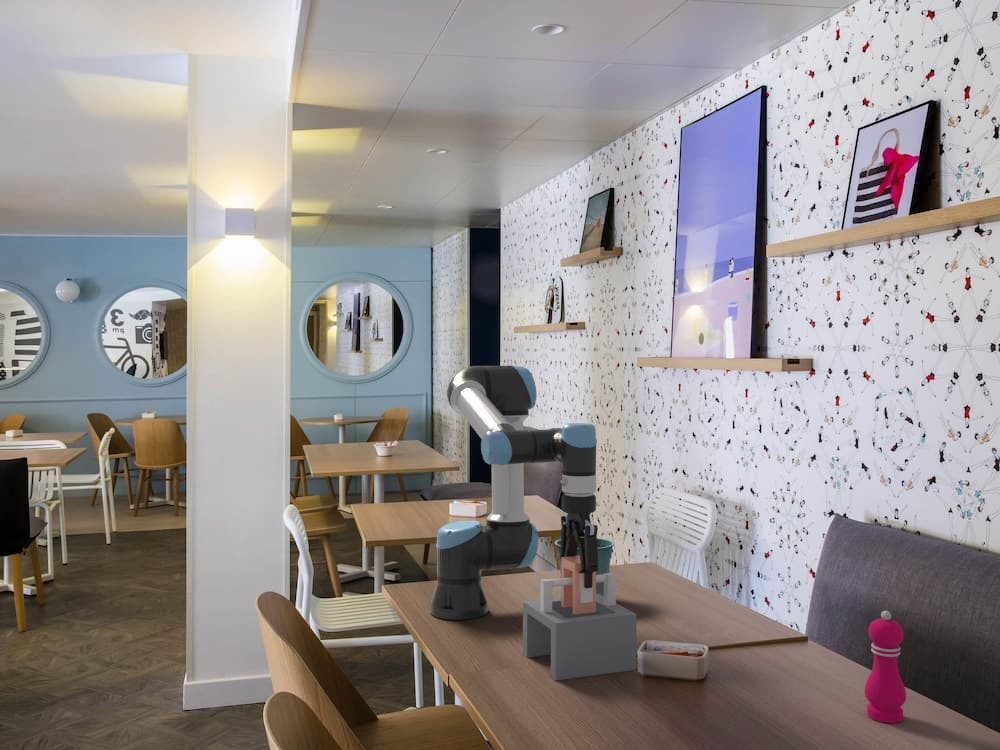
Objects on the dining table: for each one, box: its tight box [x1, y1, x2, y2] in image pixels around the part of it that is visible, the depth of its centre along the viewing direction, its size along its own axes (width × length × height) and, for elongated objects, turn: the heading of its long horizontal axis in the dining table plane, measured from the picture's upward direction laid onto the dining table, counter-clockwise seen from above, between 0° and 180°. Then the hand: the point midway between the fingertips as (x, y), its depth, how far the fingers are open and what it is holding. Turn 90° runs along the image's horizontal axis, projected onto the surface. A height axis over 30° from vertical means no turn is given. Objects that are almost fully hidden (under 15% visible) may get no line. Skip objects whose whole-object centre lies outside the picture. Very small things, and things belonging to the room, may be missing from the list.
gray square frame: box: [522, 572, 638, 682], centre depth 202 cm, size 18×19×19 cm
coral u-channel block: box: [560, 556, 596, 614], centre depth 202 cm, size 7×5×11 cm
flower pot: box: [554, 537, 615, 596], centre depth 252 cm, size 16×16×16 cm
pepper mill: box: [864, 610, 907, 724], centre depth 171 cm, size 7×7×20 cm
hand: (578, 597), depth 202 cm, fingers closed on coral u-channel block, 7 cm apart
